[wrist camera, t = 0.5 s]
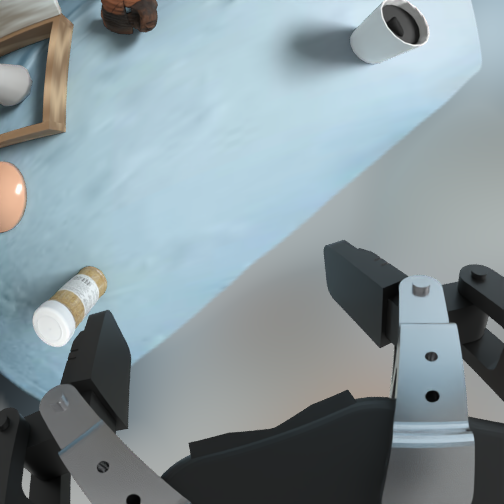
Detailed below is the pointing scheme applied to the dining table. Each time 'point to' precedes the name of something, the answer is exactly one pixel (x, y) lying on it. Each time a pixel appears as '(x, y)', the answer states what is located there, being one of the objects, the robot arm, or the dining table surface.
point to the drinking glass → (389, 32)
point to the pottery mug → (129, 15)
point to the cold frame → (60, 33)
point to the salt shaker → (14, 84)
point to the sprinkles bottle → (69, 306)
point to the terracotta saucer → (11, 196)
